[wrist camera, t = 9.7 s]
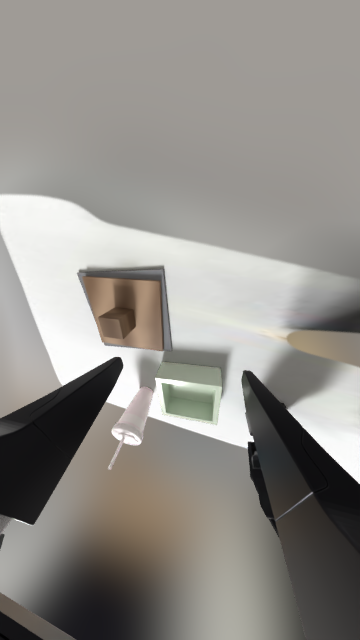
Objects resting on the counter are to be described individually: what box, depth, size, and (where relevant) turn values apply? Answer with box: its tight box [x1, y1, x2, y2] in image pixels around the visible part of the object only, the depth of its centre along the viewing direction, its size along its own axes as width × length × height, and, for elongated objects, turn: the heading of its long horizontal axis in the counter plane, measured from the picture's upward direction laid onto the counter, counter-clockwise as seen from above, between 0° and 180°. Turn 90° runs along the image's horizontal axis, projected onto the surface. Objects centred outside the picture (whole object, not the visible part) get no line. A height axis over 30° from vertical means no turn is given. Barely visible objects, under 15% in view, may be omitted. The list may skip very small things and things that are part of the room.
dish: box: [155, 362, 222, 425], centre depth 28 cm, size 12×12×4 cm
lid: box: [82, 276, 164, 351], centre depth 22 cm, size 13×13×5 cm
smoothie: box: [108, 387, 153, 470], centre depth 28 cm, size 6×6×14 cm
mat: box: [77, 269, 172, 351], centre depth 24 cm, size 15×15×1 cm
